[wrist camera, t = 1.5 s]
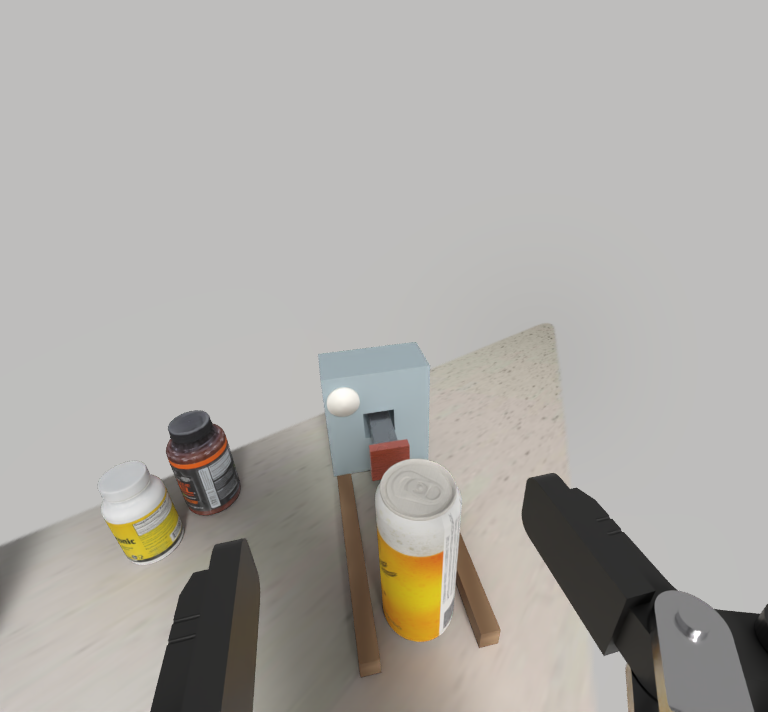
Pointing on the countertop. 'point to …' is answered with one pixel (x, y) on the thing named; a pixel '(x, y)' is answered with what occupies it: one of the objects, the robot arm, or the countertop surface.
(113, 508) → the supplement bottle
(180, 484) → the supplement bottle
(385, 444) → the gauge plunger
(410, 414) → the end cabinet
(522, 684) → the countertop surface
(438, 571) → the beer can
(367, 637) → the rail track
